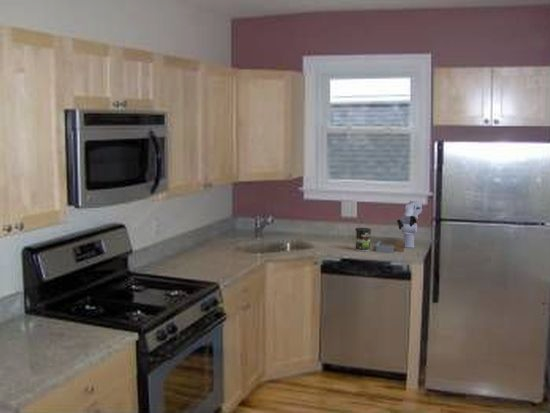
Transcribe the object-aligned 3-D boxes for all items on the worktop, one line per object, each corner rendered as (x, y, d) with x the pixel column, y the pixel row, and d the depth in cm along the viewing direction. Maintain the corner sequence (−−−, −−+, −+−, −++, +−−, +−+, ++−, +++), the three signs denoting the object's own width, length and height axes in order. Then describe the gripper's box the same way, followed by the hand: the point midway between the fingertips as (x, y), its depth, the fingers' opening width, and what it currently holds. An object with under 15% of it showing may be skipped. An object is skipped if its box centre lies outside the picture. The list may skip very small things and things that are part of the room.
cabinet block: (394, 250, 417) (395, 241, 416) (404, 250, 415) (405, 242, 414) (394, 251, 413) (394, 242, 412) (404, 252, 411) (404, 243, 410)
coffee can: (372, 250, 413) (373, 229, 411) (359, 251, 409) (360, 230, 407) (365, 247, 422) (365, 227, 420) (351, 248, 418) (352, 227, 416)
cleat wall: (378, 246, 428) (378, 240, 427) (395, 247, 424) (395, 241, 424) (375, 251, 410) (375, 245, 410) (393, 252, 407) (393, 247, 407)
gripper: (396, 213, 421) (392, 224, 410) (416, 208, 413) (412, 219, 402) (400, 222, 423) (396, 233, 412) (420, 216, 415) (417, 227, 405)
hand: (405, 226), depth 407 cm, fingers open, 7 cm apart
